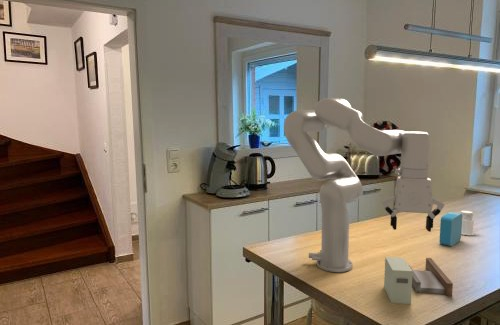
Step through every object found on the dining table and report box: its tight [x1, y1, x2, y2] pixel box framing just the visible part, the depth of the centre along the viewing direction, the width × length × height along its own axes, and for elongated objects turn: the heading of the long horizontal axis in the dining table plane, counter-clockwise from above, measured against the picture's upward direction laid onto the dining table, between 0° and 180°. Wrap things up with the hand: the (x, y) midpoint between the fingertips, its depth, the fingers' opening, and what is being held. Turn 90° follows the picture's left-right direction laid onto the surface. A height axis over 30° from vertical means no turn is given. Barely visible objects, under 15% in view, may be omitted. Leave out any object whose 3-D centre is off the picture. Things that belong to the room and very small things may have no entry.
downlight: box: [460, 210, 475, 236], centre depth 170 cm, size 8×7×10 cm
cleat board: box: [410, 257, 454, 297], centre depth 124 cm, size 10×20×4 cm, turn 172°
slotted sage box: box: [383, 256, 413, 305], centre depth 114 cm, size 6×10×10 cm, turn 172°
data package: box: [438, 211, 462, 247], centre depth 159 cm, size 12×4×12 cm, turn 133°
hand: (411, 229), depth 115 cm, fingers open, 9 cm apart
